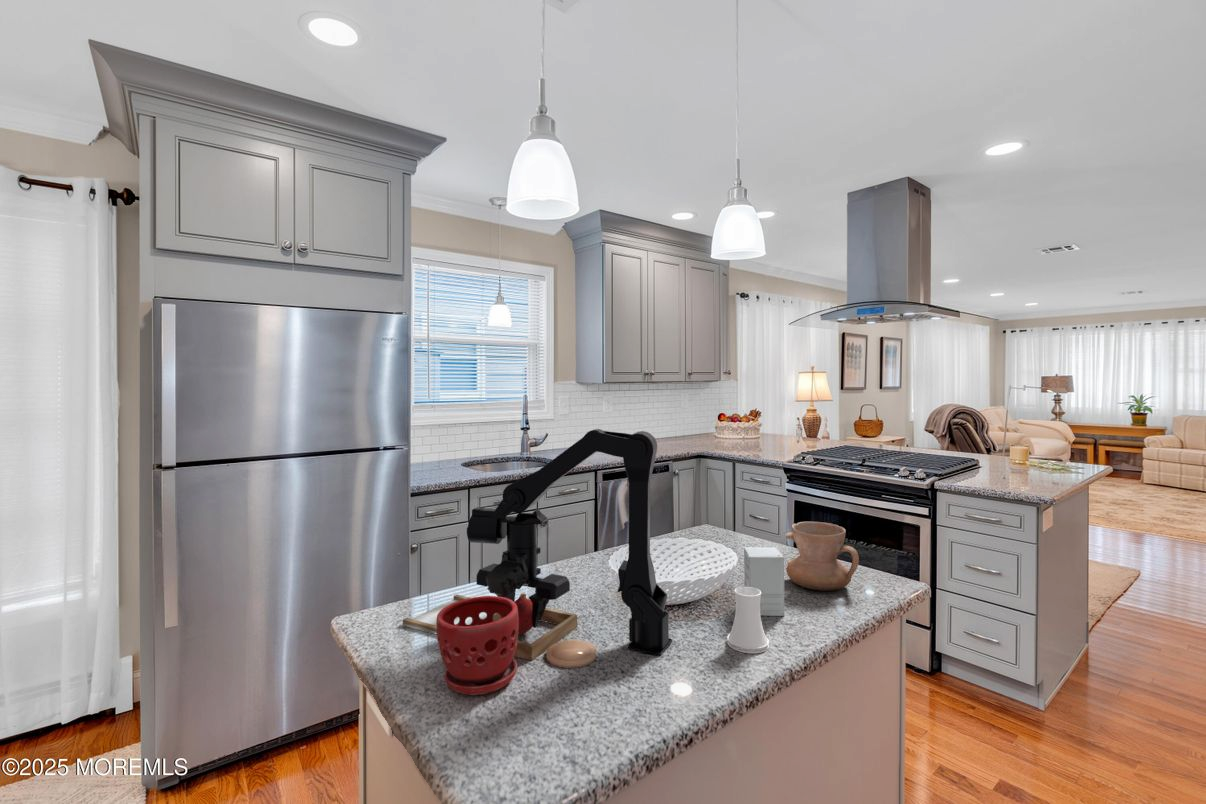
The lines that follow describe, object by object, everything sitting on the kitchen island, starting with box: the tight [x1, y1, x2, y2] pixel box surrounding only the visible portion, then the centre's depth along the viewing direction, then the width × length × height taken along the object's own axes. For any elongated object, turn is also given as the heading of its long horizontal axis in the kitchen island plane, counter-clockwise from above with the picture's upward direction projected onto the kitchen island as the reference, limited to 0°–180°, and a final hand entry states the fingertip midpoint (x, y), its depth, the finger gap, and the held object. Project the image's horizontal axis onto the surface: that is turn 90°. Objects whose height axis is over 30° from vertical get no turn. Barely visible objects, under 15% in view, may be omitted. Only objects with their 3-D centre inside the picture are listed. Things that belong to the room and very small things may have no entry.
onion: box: [515, 592, 533, 636], centre depth 109 cm, size 6×6×8 cm
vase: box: [726, 586, 770, 654], centre depth 104 cm, size 8×8×10 cm
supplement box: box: [743, 546, 785, 617], centre depth 121 cm, size 7×7×13 cm
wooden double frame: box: [402, 594, 578, 661], centre depth 113 cm, size 32×16×2 cm, turn 62°
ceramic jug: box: [784, 521, 860, 592], centre depth 135 cm, size 18×14×14 cm
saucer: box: [545, 639, 598, 669], centre depth 100 cm, size 9×9×1 cm
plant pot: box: [436, 595, 519, 696], centre depth 92 cm, size 13×13×12 cm
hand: (522, 624), depth 109 cm, fingers closed on onion, 6 cm apart
